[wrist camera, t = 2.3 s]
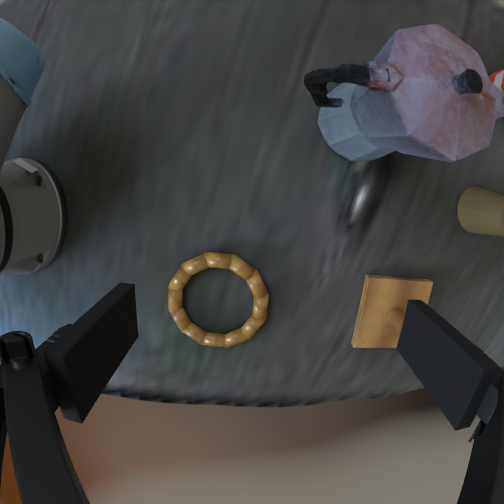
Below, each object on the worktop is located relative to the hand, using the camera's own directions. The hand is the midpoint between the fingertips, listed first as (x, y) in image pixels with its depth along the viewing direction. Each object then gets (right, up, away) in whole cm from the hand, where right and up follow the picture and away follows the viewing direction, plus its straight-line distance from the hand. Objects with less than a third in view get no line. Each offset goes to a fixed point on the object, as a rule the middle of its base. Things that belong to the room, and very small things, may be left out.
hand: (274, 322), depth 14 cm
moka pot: (+10, +17, +17) cm, 26 cm away
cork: (+27, +9, +19) cm, 34 cm away
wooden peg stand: (+16, -4, +22) cm, 28 cm away
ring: (-5, -2, +21) cm, 22 cm away
